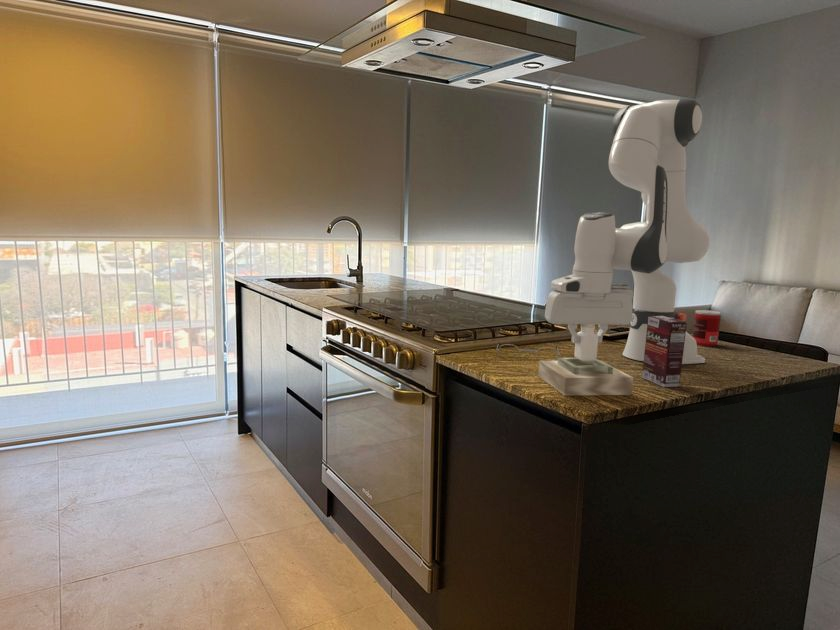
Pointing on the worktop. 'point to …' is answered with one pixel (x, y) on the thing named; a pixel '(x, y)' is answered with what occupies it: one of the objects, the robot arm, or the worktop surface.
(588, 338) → the pepper shaker
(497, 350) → the eyeglasses
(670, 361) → the supplement box
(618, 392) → the block
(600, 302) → the robot arm
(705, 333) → the canned food
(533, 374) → the worktop surface
